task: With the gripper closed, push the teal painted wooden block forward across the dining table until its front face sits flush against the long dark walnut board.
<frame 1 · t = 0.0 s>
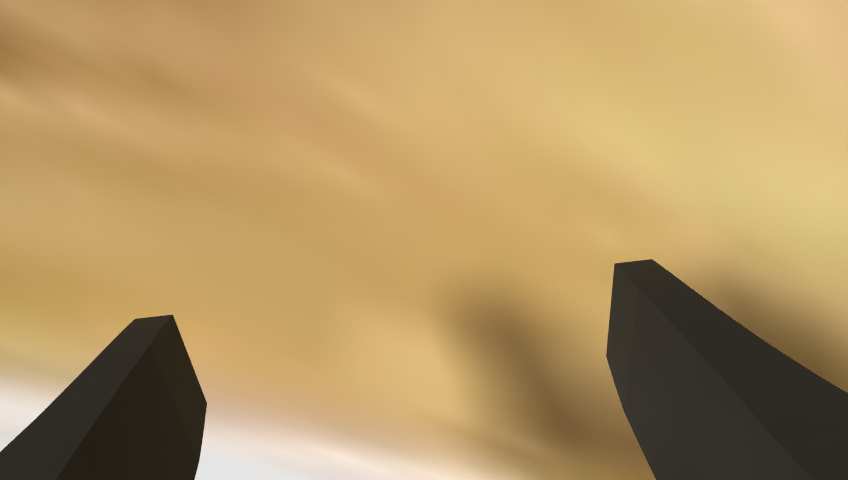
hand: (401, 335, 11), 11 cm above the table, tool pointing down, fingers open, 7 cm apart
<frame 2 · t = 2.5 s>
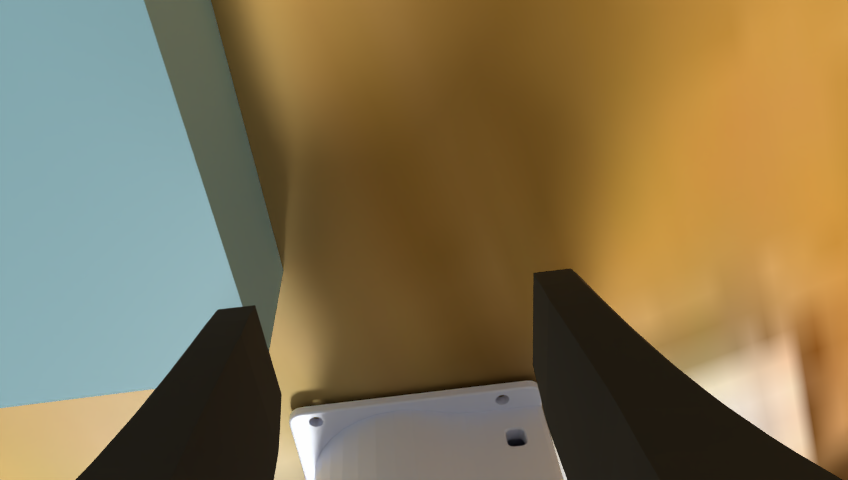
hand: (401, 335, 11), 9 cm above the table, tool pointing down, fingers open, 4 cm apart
block: (107, 142, 19), on the table
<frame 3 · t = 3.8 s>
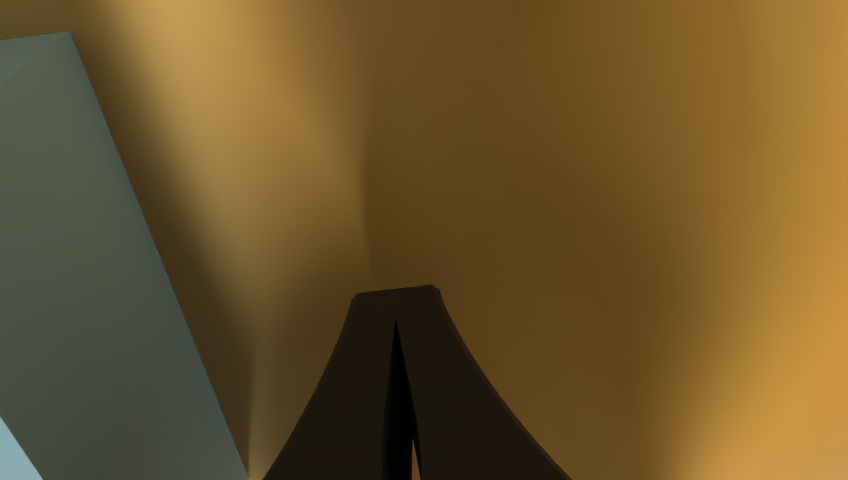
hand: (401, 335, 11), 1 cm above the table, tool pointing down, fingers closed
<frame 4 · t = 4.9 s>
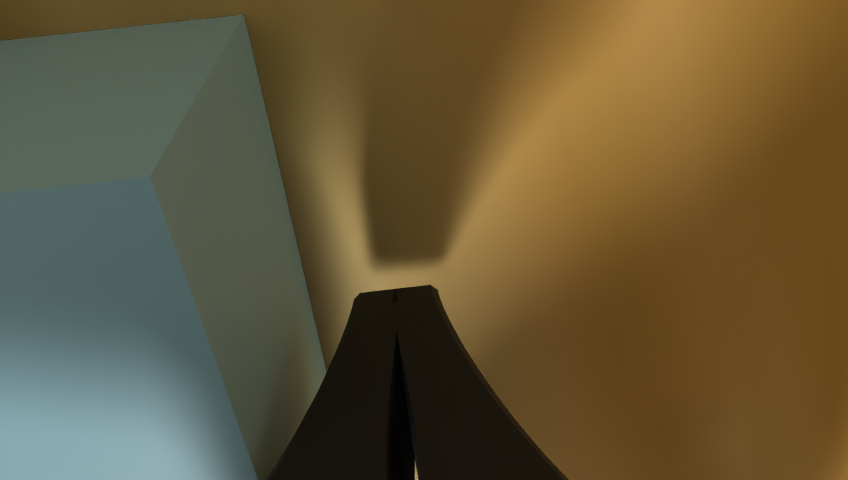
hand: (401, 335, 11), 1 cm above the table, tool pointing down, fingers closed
block: (91, 314, 12), on the table, touching gripper
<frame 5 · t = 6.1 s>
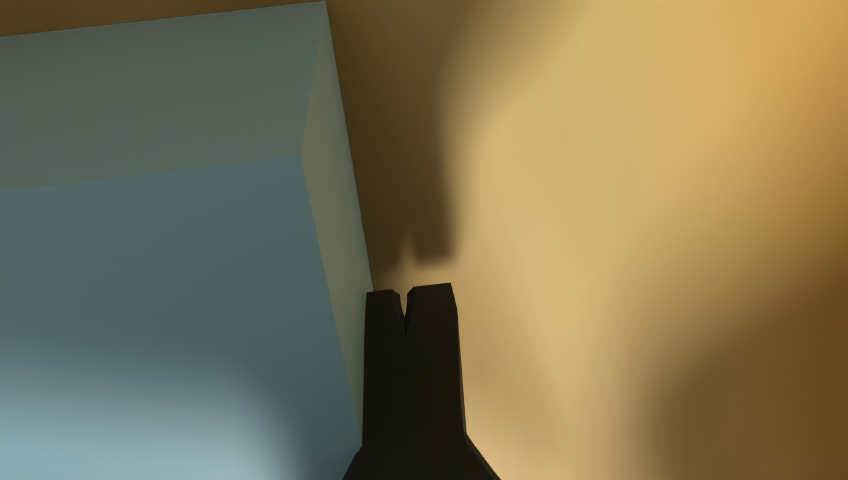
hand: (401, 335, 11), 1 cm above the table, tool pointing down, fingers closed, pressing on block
block: (152, 308, 12), on the table, touching board, gripper
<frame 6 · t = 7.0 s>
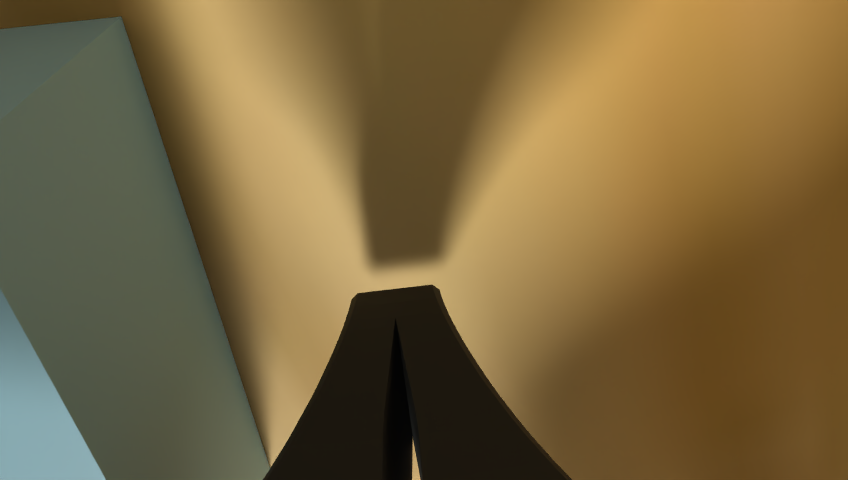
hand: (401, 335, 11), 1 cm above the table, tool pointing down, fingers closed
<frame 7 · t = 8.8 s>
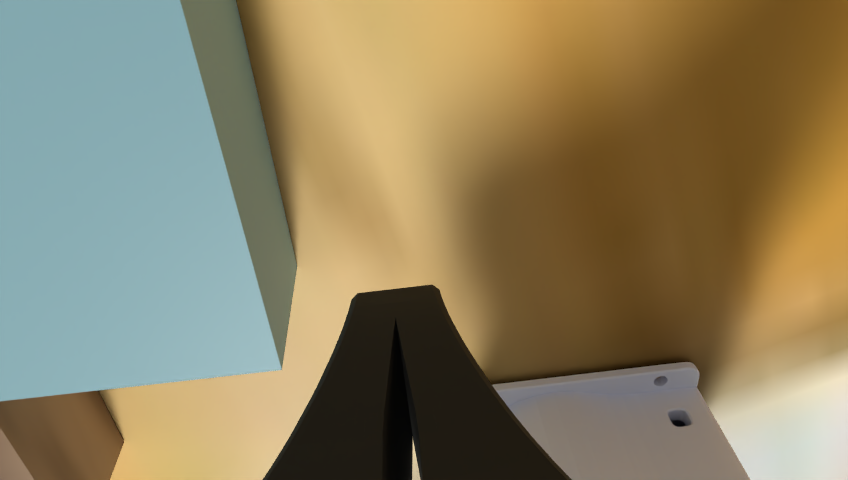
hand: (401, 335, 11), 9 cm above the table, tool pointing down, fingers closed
block: (125, 134, 19), on the table
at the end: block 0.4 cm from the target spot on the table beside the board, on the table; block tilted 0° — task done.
